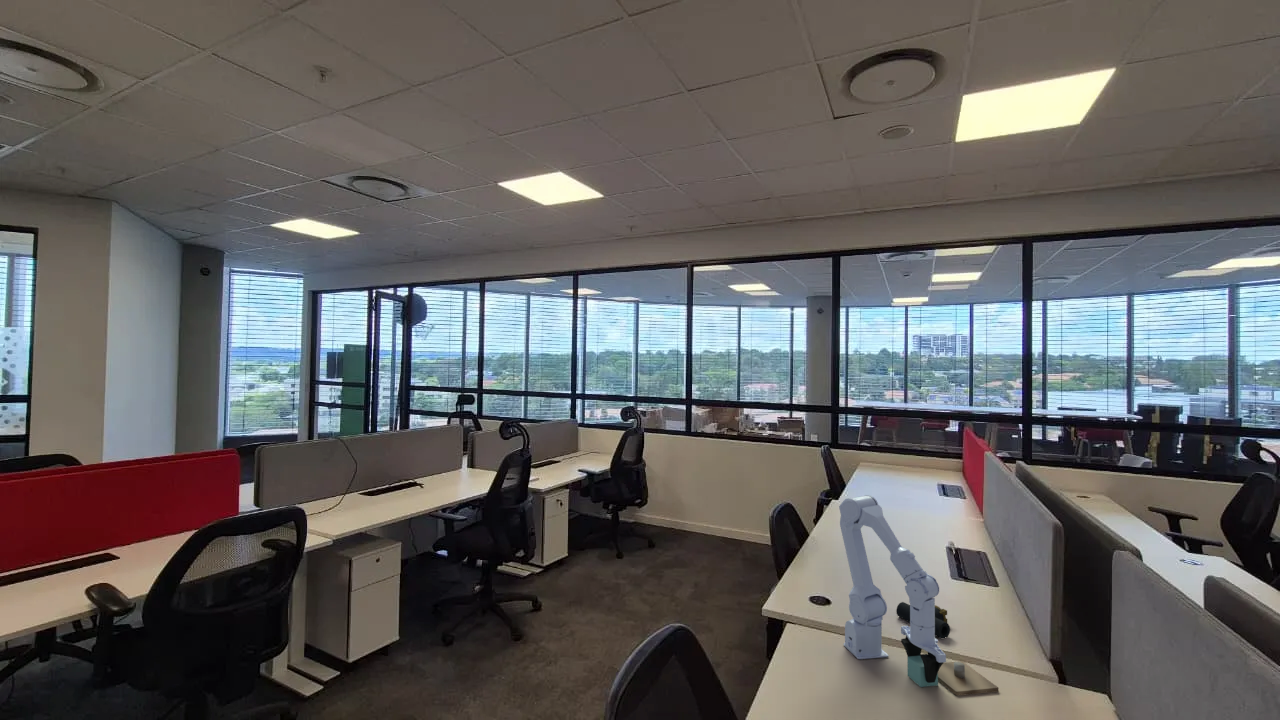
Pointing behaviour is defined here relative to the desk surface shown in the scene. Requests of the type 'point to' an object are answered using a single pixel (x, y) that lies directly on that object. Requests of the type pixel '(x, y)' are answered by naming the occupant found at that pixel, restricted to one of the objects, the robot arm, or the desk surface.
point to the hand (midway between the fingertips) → (922, 674)
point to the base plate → (964, 679)
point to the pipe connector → (940, 619)
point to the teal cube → (918, 671)
